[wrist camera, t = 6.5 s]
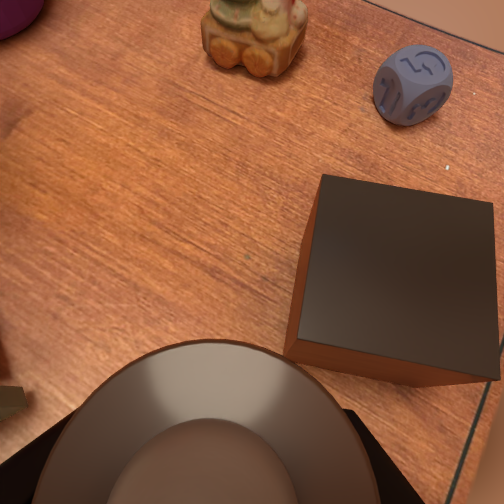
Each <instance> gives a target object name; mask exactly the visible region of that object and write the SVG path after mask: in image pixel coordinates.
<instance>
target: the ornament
mask: <svg viewBox="0 0 504 504" xmlns="http://www.w3.org/2000/svg"><path fill="white" fill-rule="evenodd" d="M307 23H308V9H307V7H306V5H305V4H304V3H303V2H302V1H301V0H211V1H210V10H209V11H208V12H207V13H206V14H205V15H204V16H203V18H202V19H201V33H202V44H203V49H204V51H205V52H206V53H207V54H208V55H209V56H211V57H213V59H214V61H215V62H216V64H217V65H219V66H221V67H223V68H232V67H234V66H235V65H242V66H245V67H246V69H247V70H248V72H249V73H250V74H251V75H253V76H255V77H264V76H266V75H270V76H274V77H277V76H279V75H280V74H281V73H283V72H284V71H285V70H286V69H287V68H288V67H289V65H290V63H291V62H292V60H293V58H294V57H295V55H296V53H297V51H298V50H299V48H300V47H301V45H302V43H303V41H304V39H305V34H306V29H307Z"/></svg>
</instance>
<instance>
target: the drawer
mask: <svg viewBox="0 0 504 504" xmlns="http://www.w3.org/2000/svg"><path fill="white" fill-rule="evenodd" d="M27 407H28V403H27V399H26V396H25V393H24V390H23V388H22V387H15V386H0V422H1V421H3V420H5V419H6V418H8V417H10V416H12V415H14V414H16V413H18V412H19V411H21V410H23V409H25V408H27Z"/></svg>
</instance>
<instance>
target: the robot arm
mask: <svg viewBox="0 0 504 504" xmlns="http://www.w3.org/2000/svg"><path fill="white" fill-rule="evenodd" d="M78 408H79V407H78ZM78 408H77V409H78ZM77 409H76V410H74V411H73V412H71V413H70V414H69V415H67V416H66V417H65V418H63V419H62V420H61V421H59V422H58V423H56V424H55V425H54V426H52V427H51V428H50V429H48V430H47V431H46V432H44V433H43V434H41V435H40V436H39V437H37V438H36V439H35V440H33V441H32V442H31V443H29V444H28V445H26V446H25V447H24V448H22V449H21V450H20V451H18V452H17V453H16V454H14V455H13V456H11V457H10V458H9V459H7V460H6V461H5V462H3V463H2V464H0V504H32V500H33V497H34V494H35V490H36V487H37V484H38V481H39V478H40V475H41V473H42V470H43V468H44V466H45V464H46V461H47V459H48V457H49V454H50V452H51V450H52V448H53V447H54V445H55V443H56V441H57V440H58V438H59V436H60V434H61V432H62V431H63V429H64V427H65V426H66V425H67V423H68V422H69V420H70V419H71V418H72V416H73V415H74V414H75V412H76V411H77ZM343 410H344V412H345V413H346V415H347V416H348V418H349V420H350V421H351V423H352V425H353V426H354V428H355V430H356V431H357V433H358V435H359V437H360V439H361V441H362V444H363V446H364V448H365V450H366V453H367V455H368V457H369V460H370V463H371V466H372V469H373V472H374V476H375V479H376V482H377V486H378V491H379V496H380V501H381V504H425V503H424V502H423V500H422V499H421V498H420V496H419V495H418V494H417V492H416V491H415V490H414V488H413V487H412V486H411V485H410V483H409V482H408V481H407V479H406V478H405V477H404V475H403V474H402V473H401V472H400V470H399V469H398V468H397V466H396V465H395V464H394V462H393V461H392V460H391V458H390V457H389V456H388V455H387V453H386V452H385V451H384V449H383V448H382V447H381V445H380V444H379V443H378V442H377V440H376V439H375V438H374V436H373V435H372V434H371V432H370V431H369V430H368V428H367V427H366V426H365V425H364V423H363V422H362V421H361V419H360V418H359V417H358V415H357V414H356V413H355V412H354V411H353V410H350V409H343Z"/></svg>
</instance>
